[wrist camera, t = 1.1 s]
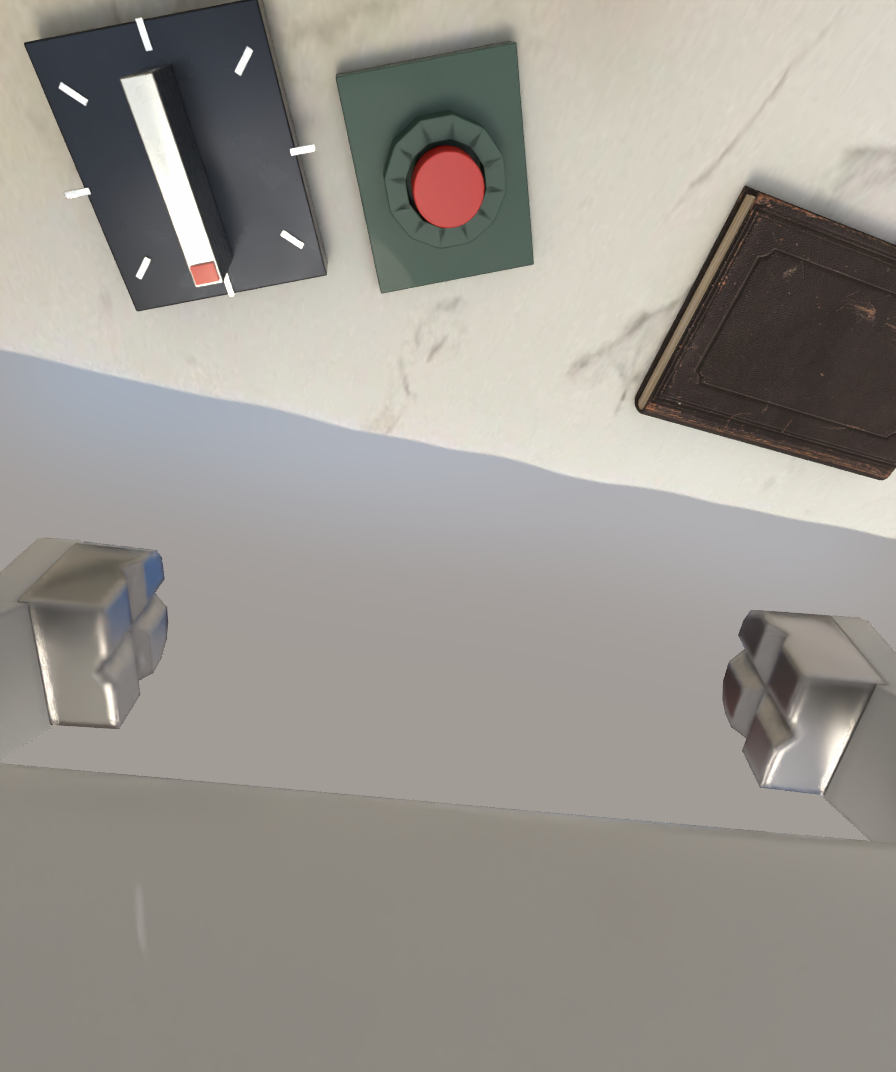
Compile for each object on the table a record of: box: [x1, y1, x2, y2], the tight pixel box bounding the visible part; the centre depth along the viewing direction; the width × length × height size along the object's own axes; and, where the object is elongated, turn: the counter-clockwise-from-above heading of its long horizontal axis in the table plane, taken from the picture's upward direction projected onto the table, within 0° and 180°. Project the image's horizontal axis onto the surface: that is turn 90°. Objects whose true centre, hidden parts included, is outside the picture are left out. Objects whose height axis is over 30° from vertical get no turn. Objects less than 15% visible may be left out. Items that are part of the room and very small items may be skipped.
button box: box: [336, 41, 534, 293], centre depth 43 cm, size 12×10×4 cm
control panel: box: [24, 0, 328, 311], centre depth 42 cm, size 14×14×3 cm
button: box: [411, 145, 485, 228], centre depth 42 cm, size 4×4×2 cm
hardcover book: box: [635, 186, 896, 480], centre depth 54 cm, size 16×23×2 cm
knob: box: [120, 64, 233, 288], centre depth 39 cm, size 10×2×5 cm, turn 9°
